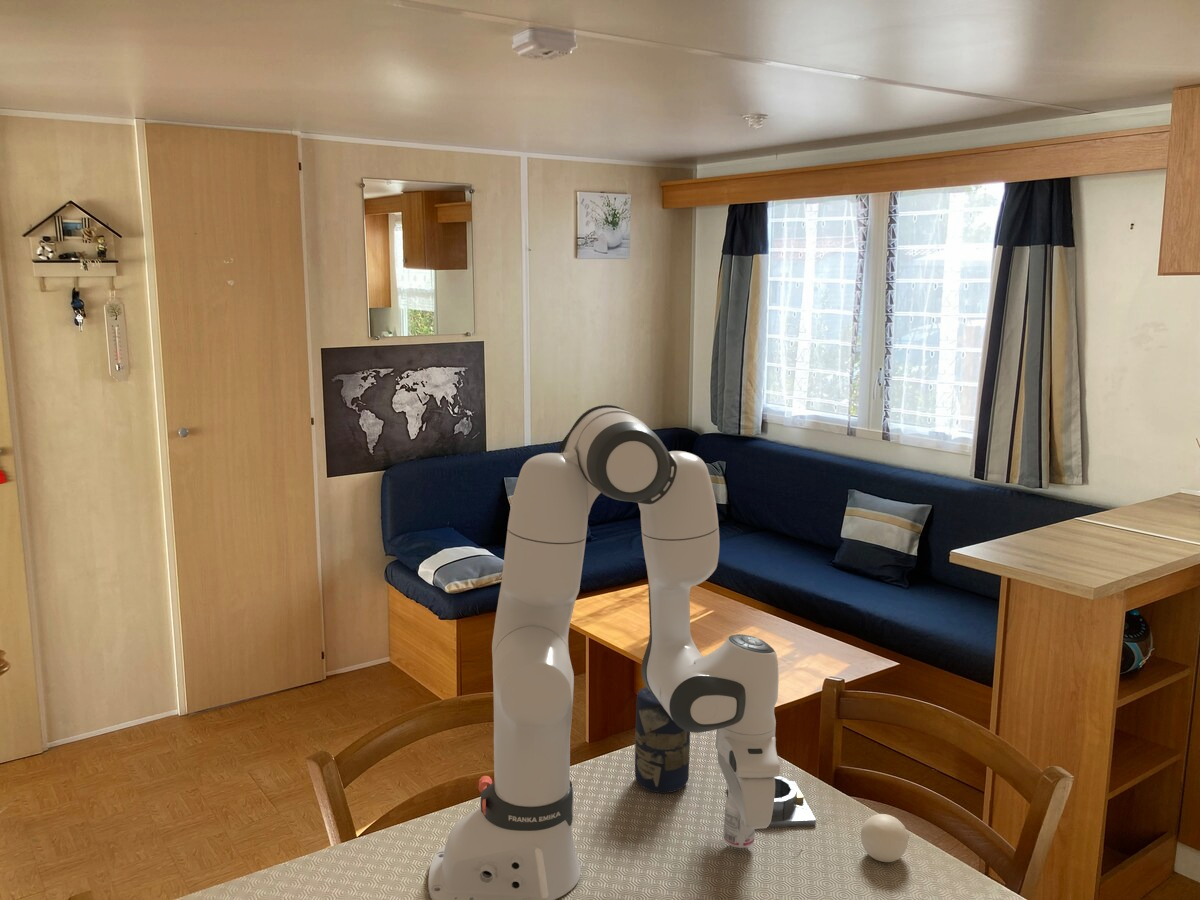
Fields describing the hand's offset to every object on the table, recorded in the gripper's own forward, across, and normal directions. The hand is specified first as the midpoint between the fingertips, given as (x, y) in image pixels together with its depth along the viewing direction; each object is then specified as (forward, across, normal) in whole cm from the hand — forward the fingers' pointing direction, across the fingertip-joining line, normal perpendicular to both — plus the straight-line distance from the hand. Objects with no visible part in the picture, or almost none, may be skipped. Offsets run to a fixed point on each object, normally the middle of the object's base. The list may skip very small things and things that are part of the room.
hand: (739, 821), depth 150 cm
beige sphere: (+4, +4, +22) cm, 23 cm away
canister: (+5, -20, -9) cm, 22 cm away
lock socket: (+4, -11, +8) cm, 14 cm away
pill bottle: (+3, 0, 0) cm, 3 cm away
